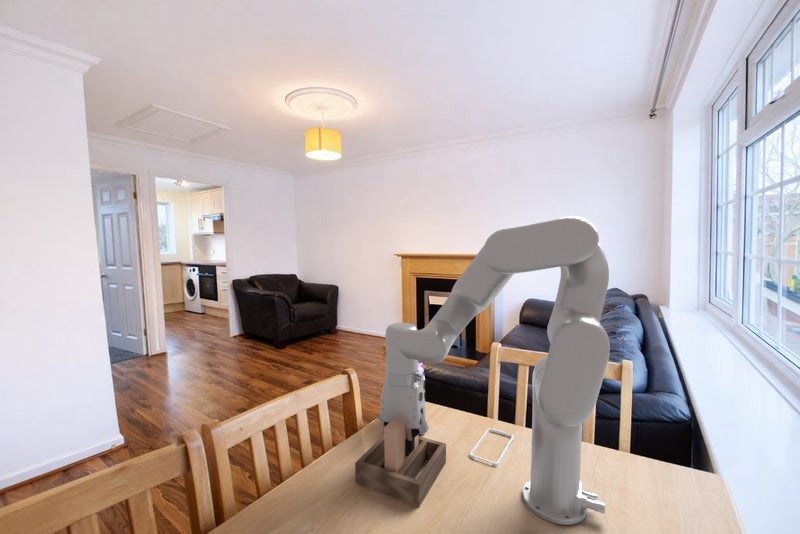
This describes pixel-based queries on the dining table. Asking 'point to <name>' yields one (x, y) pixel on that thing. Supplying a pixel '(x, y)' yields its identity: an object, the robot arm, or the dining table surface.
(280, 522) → the dining table surface
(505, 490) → the dining table surface
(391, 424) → the pink block
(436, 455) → the slotted box
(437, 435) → the dining table surface
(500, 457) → the phone case
